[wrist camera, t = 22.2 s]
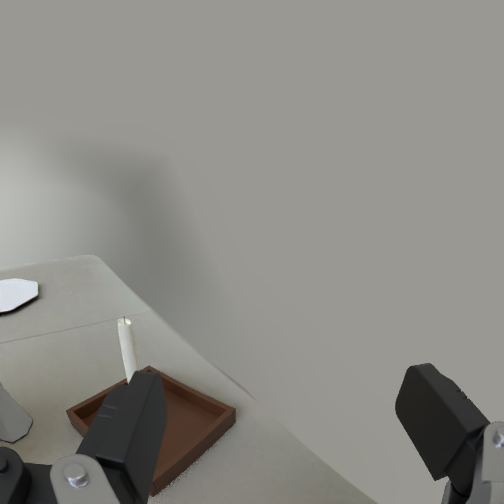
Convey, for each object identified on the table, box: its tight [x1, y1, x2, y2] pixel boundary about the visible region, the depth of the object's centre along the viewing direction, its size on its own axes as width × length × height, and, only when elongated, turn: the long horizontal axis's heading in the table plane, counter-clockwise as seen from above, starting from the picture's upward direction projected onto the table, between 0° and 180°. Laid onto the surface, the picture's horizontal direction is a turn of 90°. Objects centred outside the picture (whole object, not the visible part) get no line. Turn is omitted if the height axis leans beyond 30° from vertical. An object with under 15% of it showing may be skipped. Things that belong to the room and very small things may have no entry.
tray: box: [66, 366, 236, 497], centre depth 31 cm, size 16×16×3 cm
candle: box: [118, 317, 140, 384], centre depth 29 cm, size 5×5×16 cm
